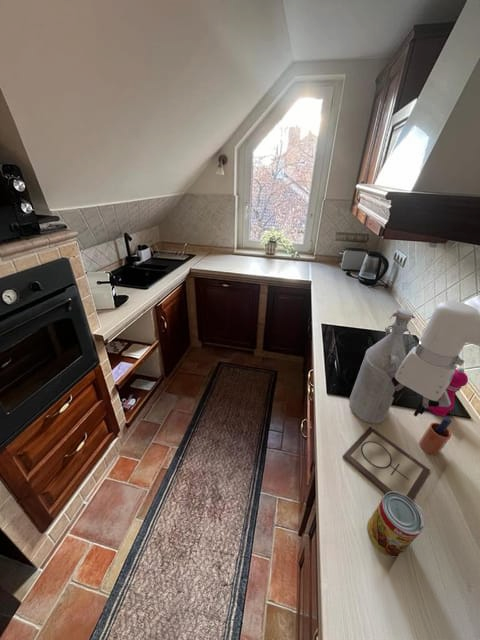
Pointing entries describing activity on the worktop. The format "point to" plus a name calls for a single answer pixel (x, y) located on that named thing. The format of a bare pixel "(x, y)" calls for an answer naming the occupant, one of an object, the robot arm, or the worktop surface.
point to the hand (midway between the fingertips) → (406, 406)
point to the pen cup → (434, 440)
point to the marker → (443, 426)
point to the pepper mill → (451, 392)
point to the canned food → (395, 523)
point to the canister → (380, 372)
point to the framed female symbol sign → (386, 464)
